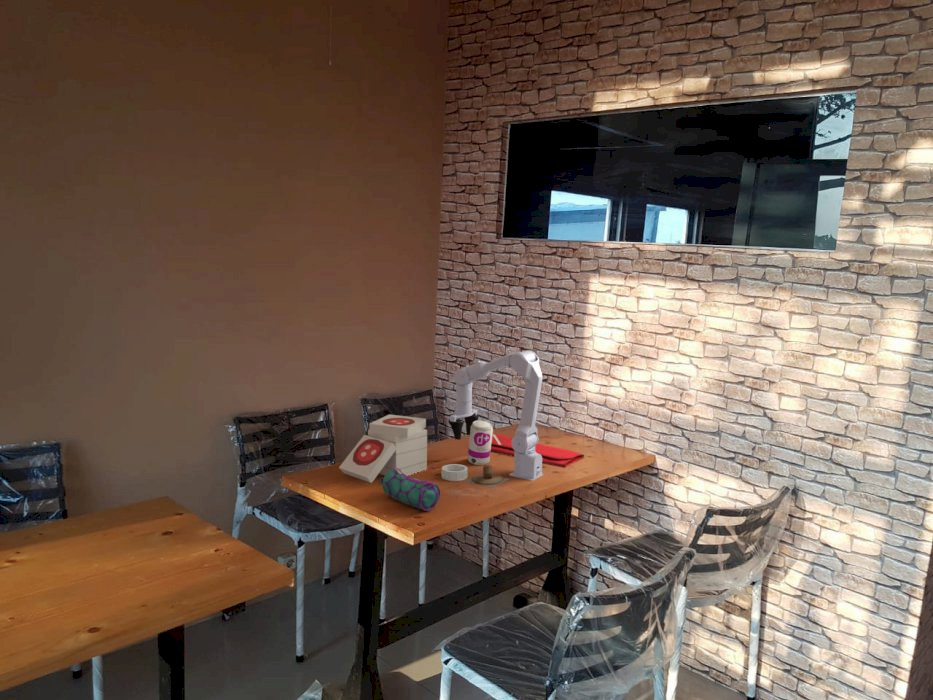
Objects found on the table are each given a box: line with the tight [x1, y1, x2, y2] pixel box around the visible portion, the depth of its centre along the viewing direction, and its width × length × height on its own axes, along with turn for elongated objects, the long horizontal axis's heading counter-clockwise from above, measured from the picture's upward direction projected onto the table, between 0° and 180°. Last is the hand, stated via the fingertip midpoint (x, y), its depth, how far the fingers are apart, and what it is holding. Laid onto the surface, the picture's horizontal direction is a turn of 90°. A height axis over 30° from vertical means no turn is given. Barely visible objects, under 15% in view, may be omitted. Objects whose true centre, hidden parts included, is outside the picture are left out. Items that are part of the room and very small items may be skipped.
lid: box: [472, 464, 502, 486], centre depth 250 cm, size 10×10×5 cm
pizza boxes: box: [338, 413, 428, 484], centre depth 255 cm, size 19×30×18 cm, turn 138°
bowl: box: [441, 463, 469, 482], centre depth 253 cm, size 9×9×4 cm
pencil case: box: [378, 468, 441, 512], centre depth 228 cm, size 21×9×10 cm, turn 43°
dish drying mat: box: [491, 433, 585, 468], centre depth 284 cm, size 16×41×4 cm, turn 54°
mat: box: [465, 476, 510, 489], centre depth 250 cm, size 11×11×1 cm
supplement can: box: [467, 419, 494, 466], centre depth 268 cm, size 8×8×15 cm
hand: (463, 436), depth 268 cm, fingers open, 7 cm apart
